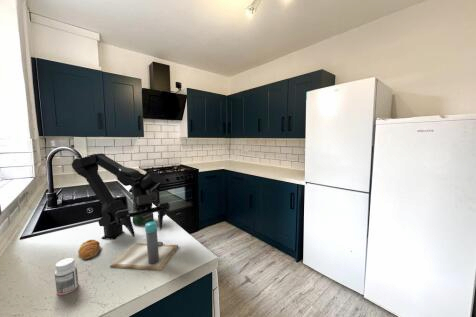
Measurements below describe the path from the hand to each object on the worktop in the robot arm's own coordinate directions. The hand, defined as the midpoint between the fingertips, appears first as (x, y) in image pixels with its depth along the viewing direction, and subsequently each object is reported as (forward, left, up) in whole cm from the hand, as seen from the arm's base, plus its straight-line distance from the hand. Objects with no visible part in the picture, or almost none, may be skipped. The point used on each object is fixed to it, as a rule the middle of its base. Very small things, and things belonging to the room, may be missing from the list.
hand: (148, 232), depth 71 cm
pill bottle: (-14, -18, -9) cm, 25 cm away
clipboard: (0, -1, -8) cm, 9 cm away
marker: (+5, -5, -7) cm, 10 cm away
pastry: (-24, -1, -9) cm, 25 cm away
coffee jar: (-19, +27, -9) cm, 34 cm away
